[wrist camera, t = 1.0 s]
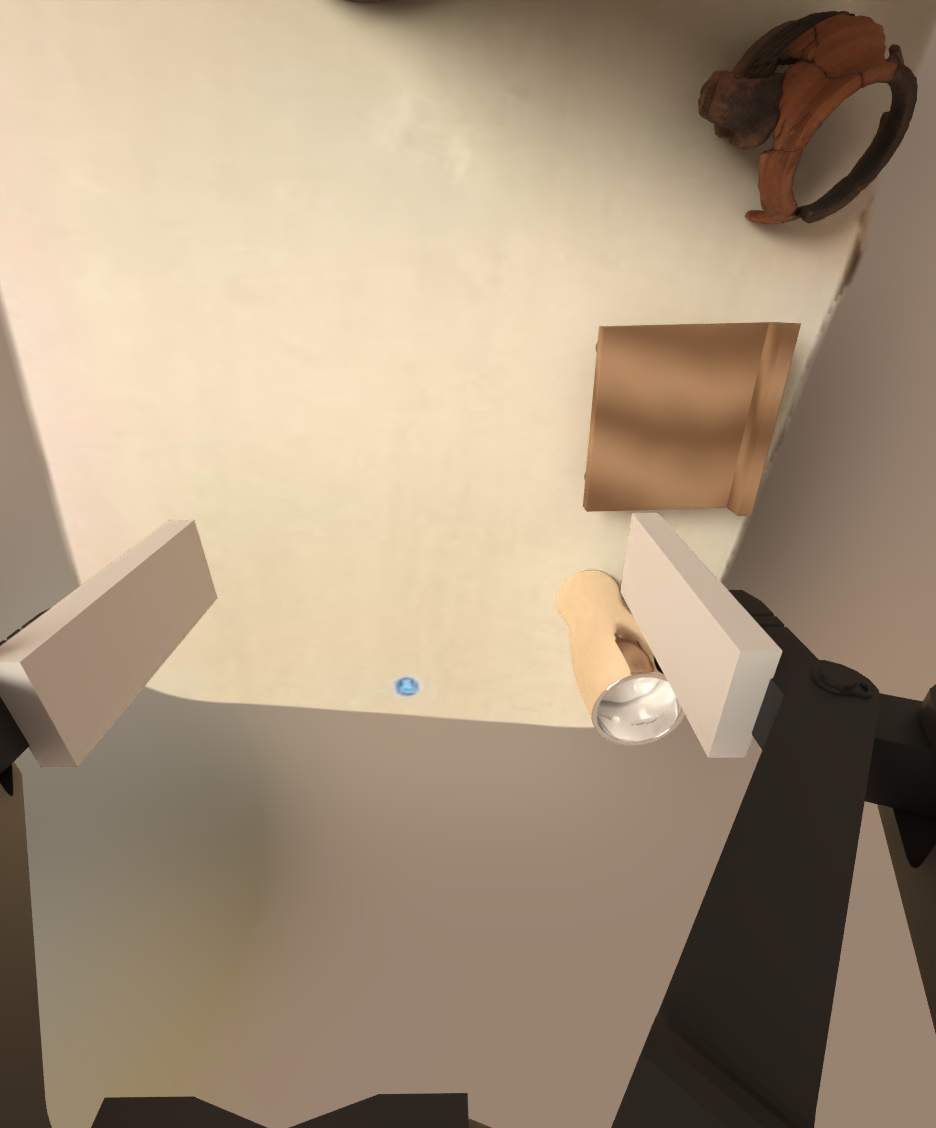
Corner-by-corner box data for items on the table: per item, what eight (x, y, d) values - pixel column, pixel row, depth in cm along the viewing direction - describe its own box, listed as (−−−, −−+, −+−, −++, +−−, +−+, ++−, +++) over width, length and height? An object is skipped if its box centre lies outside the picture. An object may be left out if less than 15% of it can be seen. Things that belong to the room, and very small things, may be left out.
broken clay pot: (868, 9, 30) (982, 39, 25) (772, 196, 37) (847, 245, 33) (696, -18, 27) (790, 11, 22) (631, 191, 34) (691, 244, 30)
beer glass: (605, 635, 50) (661, 756, 36) (539, 618, 48) (573, 737, 35) (636, 576, 47) (709, 684, 33) (567, 557, 45) (615, 661, 32)
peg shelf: (588, 324, 37) (611, 328, 31) (750, 321, 37) (801, 323, 31) (574, 493, 43) (592, 520, 37) (714, 489, 43) (751, 515, 37)
